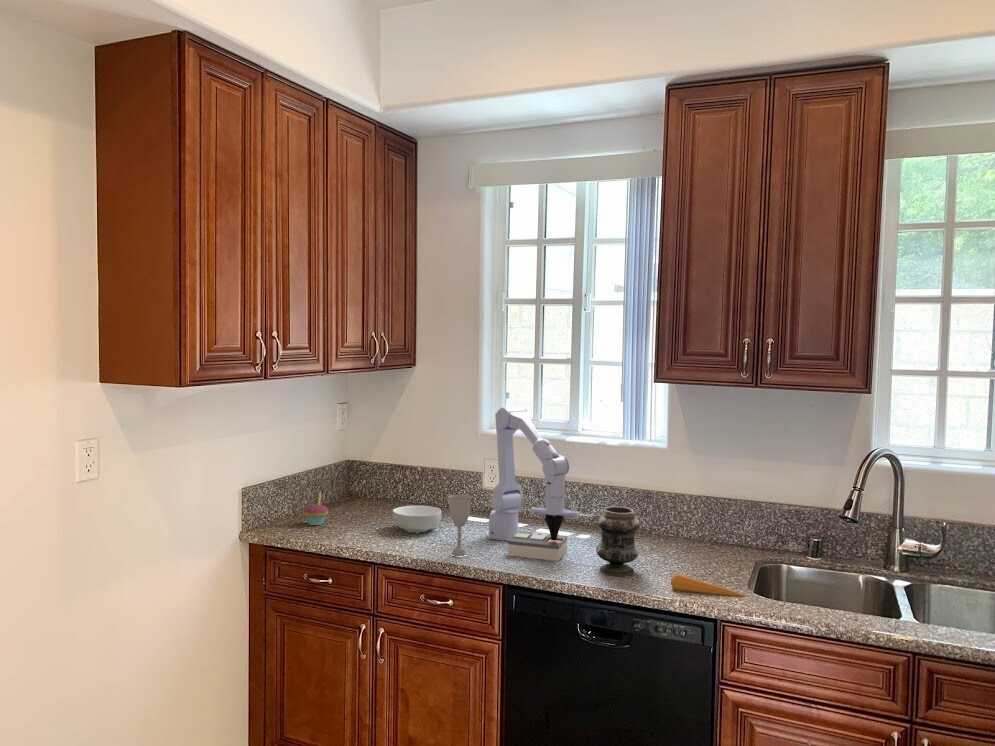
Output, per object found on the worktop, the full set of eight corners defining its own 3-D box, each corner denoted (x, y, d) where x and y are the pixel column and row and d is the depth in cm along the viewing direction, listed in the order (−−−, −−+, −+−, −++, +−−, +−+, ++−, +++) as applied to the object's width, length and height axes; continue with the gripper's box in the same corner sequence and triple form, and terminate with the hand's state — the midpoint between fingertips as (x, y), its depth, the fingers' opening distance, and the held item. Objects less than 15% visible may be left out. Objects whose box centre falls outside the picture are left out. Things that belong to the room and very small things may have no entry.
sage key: (513, 543, 229) (513, 536, 229) (517, 540, 233) (517, 532, 233) (526, 544, 228) (526, 537, 228) (530, 541, 232) (530, 534, 232)
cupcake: (317, 520, 265) (317, 487, 264) (333, 524, 260) (333, 490, 259) (298, 524, 258) (298, 491, 257) (314, 528, 253) (314, 494, 253)
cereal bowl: (450, 532, 251) (450, 512, 251) (406, 539, 242) (406, 518, 242) (426, 521, 265) (426, 502, 265) (384, 528, 256) (384, 507, 256)
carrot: (669, 593, 197) (671, 580, 195) (671, 582, 201) (672, 569, 199) (747, 609, 192) (750, 596, 190) (747, 597, 196) (750, 584, 194)
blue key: (529, 545, 228) (529, 537, 228) (533, 541, 232) (533, 534, 232) (542, 546, 226) (542, 539, 226) (546, 543, 230) (546, 535, 230)
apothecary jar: (638, 578, 206) (639, 515, 205) (594, 575, 208) (596, 512, 207) (637, 565, 218) (639, 505, 217) (596, 563, 220) (598, 503, 219)
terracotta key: (545, 550, 226) (546, 542, 226) (549, 546, 230) (549, 539, 230) (559, 551, 225) (559, 544, 225) (562, 548, 229) (562, 540, 229)
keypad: (507, 555, 226) (507, 540, 226) (518, 545, 237) (518, 530, 237) (558, 560, 221) (558, 545, 221) (567, 550, 232) (567, 535, 232)
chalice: (474, 553, 227) (475, 495, 227) (466, 559, 221) (467, 500, 220) (452, 550, 230) (453, 493, 229) (443, 556, 223) (444, 498, 223)
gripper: (529, 496, 225) (528, 540, 226) (575, 500, 221) (574, 545, 221) (535, 492, 232) (534, 534, 233) (580, 496, 227) (579, 539, 228)
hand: (554, 539), depth 227 cm, fingers closed
